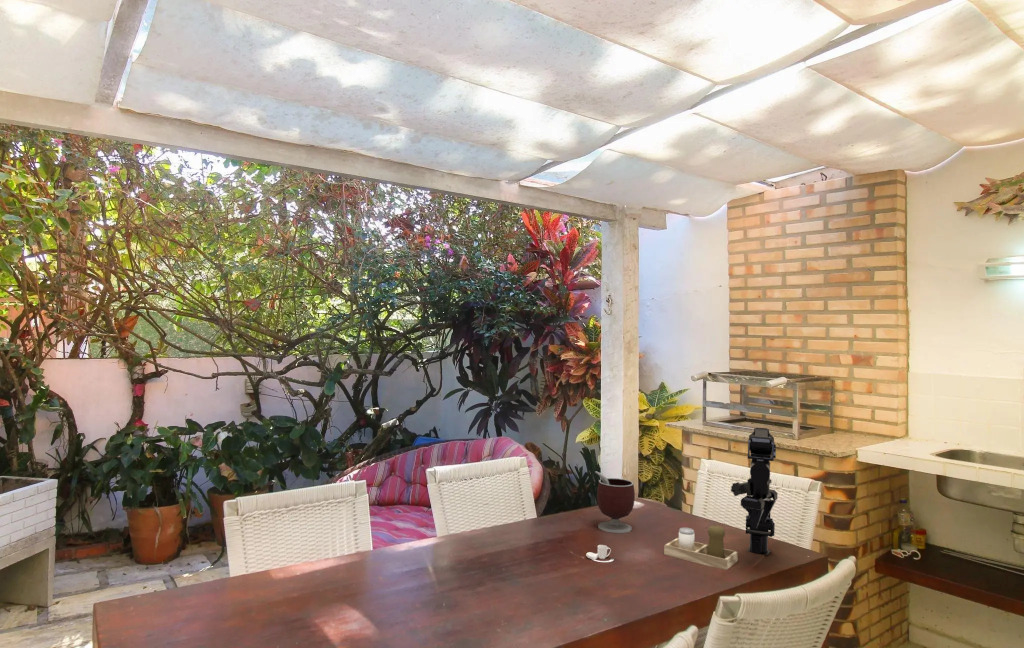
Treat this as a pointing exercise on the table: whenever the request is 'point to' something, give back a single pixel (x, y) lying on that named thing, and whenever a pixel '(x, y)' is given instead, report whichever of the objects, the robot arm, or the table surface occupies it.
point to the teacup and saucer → (600, 554)
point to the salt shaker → (686, 539)
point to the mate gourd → (615, 502)
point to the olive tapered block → (716, 541)
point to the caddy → (701, 555)
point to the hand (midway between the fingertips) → (758, 525)
